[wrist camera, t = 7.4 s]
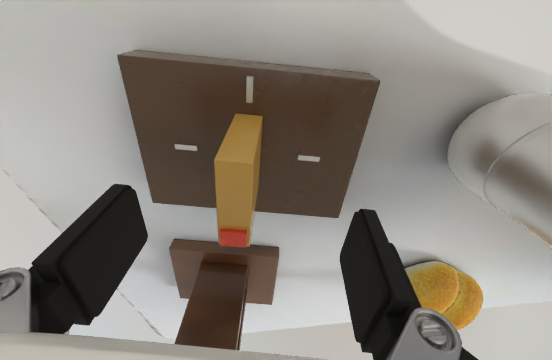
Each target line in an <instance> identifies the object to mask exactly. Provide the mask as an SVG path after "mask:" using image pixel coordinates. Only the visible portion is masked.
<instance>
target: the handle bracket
mask: <svg viewBox="0 0 552 360" xmlns="http://www.w3.org/2000/svg"><path fill="white" fill-rule="evenodd" d="M169 250H170V255H171V259H172V264H173V268H174V272H175V277H176V281H177V286H178V290H179V295H180V298H187V299H189V301H188V304H187V307H186V310H185V314H184V317H183V320H182V323H181V326H180V329H179V332H178V335H177V338H176V341H175V344H178V345H188V346H198V347H209V348H219V349H229V350H239V351H240V343H241V336H242V328H243V320H244V312H245V305H246V303H256V304H269V305H272V301H273V294H274V287H275V280H276V273H277V266H278V259H279V248H278V247H266V246H253V245H250V246H246V248H243V247H231V246H220V244H219V243H215V242H203V241H190V240H178V239H174V240H173V242H172V244H171V246H170V248H169Z"/></svg>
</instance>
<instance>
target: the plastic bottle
mask: <svg viewBox="0 0 552 360" xmlns="http://www.w3.org/2000/svg"><path fill="white" fill-rule="evenodd" d="M447 157H448V164H449V167H450V169H451V170H452V172H453V173H454V175H455V177H456V178H457V180H458V181H459V182H460V184H461V185H462V186H463V187H464V188H466V189H467V190H469V191H470V192H472V193H473V194H475V195H476V196H477V197H479V198H480V199H482V200H483V201H485V202H487V203H488V204H490V205H492V206H494V207H496V208H499V209H500V210H501V211H503V212H504V213H505V214H507V215H508V216H510V217H511V218H512V219H514V220H515V221H516V222H518V223H519V224H520V225H522V226H523V227H524V228H526V229H527V230H528V231H530V232H531V233H532V234H534V235H535V236H536V237H538V238H539V239H540V240H542V241H543V242H544V243H546V244H547V245H548V246H550V247H551V248H552V95H548V94H539V93H520V94H515V95H510V96H507V97H504V98H501V99H499V100H496V101H493V102H490V103H488V104H486V105H484V106H482V107H480V108H479V109H477V110H476V111H474V112H473V113H471V114H470V115H469V116H468V117H467V118H466V119H465V120H464V121H463V122H462V123H461V124H460V125H459V126H458V128H457V129H456V131H455V132H454V134H453V136H452V138H451V140H450V144H449V149H448V154H447Z"/></svg>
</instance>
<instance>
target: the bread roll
mask: <svg viewBox="0 0 552 360" xmlns="http://www.w3.org/2000/svg"><path fill="white" fill-rule="evenodd" d="M405 270H406V273H407V275H408V277H409V279H410V282H411V284H412V286H413V288H414V291H415V293H416V295H417V297H418V300H419V302H420V304H421V306H422V308H429V309H433V310H435V311H437V312H439V313H440V314H442V315H443V316H444V317H446V318H447V319H448V320H449V321H450V322H451V323H452V324H453V325H454V327H455V328H456V330H458V329H461V328H463V327H465V326H467V325H468V324H470V323H471V322H472V321H473V320H474V319H475V317H476V316H477V314H478V312H479V310H480V309H481V307H482V302H483V293H482V290H481V288H480V286H479V285H478V283H477V282H476V281H475V280H474V279H473V278H472V277H470V276H469V275H467V274H465V273H463V272H461V271H458V270H457V269H454V268H453V267H451V266H450V265H448V264H445V263H442V262H438V261H431V262H424V263H420V264H416V265H413V266H410V267H407V268H405Z"/></svg>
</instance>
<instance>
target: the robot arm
mask: <svg viewBox="0 0 552 360" xmlns="http://www.w3.org/2000/svg"><path fill="white" fill-rule="evenodd" d="M147 238H148V234H147V230H146V226H145V223H144V219H143V216H142V212H141V208H140V205H139V201H138V198H137V194H136V191H135V190H134V189H132V187H131V186H129V185H121V184H114V185H112V186H111V187H110V188H109V189H108V190H107V191H106V192H105V193H104V194H103V195H102V196H101V197H100V198H99V199H98V200H96V201H95V202H94V203H93V204H92V205H91V206H90V207H89V208H88V209H87V210H86V211H85V212H84V213H83V214H82V215H81V216H80V217H79V218H78V219H77V220H76V221H75V222H74V223H73V224H71V225H70V226H69V227H68V228H67V229H66V230H65V231H64V232H63V233H62V234H61V235H60V236H59V237H58V238H57V239H56V240H55V241H54V242H53V243H52V244H51V245H50V246H49V247H47V249H46V250H44V251H43V252H42V253H41V254H40V255H39V256H38V257H37V258H36V259H35V260H34V261H33V262H32V265H33V266H32V267H31V268H30V269H29V270H27V269H25V268H19V267H18V268H9V269H6V270H2V271H0V360H324V359H317V358H308V357H298V356H288V355H279V354H268V353H259V352H249V351H239V350H229V349H219V348H209V347H198V346H188V345H178V344H167V343H157V342H146V341H134V340H123V339H113V338H103V337H92V336H79V335H69V329H70V328H71V326H72V325H73V324H79V325H90V323H91V322H92V320H93V319H94V317H97V316H98V315H100V313H101V312H102V311H103V309H104V308H105V306H106V304H107V302H108V301H109V300H110V298H111V296H112V295H113V293H114V292H115V290H116V289H117V287H118V286H119V284H120V282H121V281H122V279H123V278H124V276H125V274H126V273H127V271H128V270H129V268H130V267H131V265H132V263H133V262H134V260H135V259H136V257H137V256H138V254H139V252H140V251H141V249H142V248H143V246H144V245H145V243H146V241H147ZM340 264H341V269H342V274H343V279H344V284H345V289H346V294H347V299H348V305H349V310H350V315H351V320H352V324H353V330H354V335H355V339H356V341H357V342H359V343H361V348H362V352H367V353H372V354H373V359H374V360H478V359H477V358H475V357H474V356H473V355H472V354H470V353H469V352H468V351H466V350H465V349H464V348H463V347H462V342H461V339H460V335H459V333H458V332H457V330H456V328H455V327H454V325H453V324H452V323H451V322H450V321H449V320H448V319H447V318H446V317H444V316H443V315H442V314H440V313H439V312H437V311H435V310H433V309H429V308H422V306H421V304H420V302H419V300H418V297H417V295H416V293H415V291H414V288H413V286H412V284H411V282H410V279H409V277H408V275H407V273H406V270H405V268H404V266H403V264H402V261H401V259H400V257H399V255H398V252H397V250H396V248H395V246H394V245H393V244H392V243H389V242H388V239H387V237H386V234H385V232H384V230H383V227H382V225H381V223H380V220H379V218H378V216H377V213H376V212H375V210H368V209H360V210H359V212H355V213H354V216H353V218H352V221H351V224H350V227H349V230H348V233H347V236H346V239H345V241H344V244H343V247H342V250H341V253H340Z"/></svg>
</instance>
